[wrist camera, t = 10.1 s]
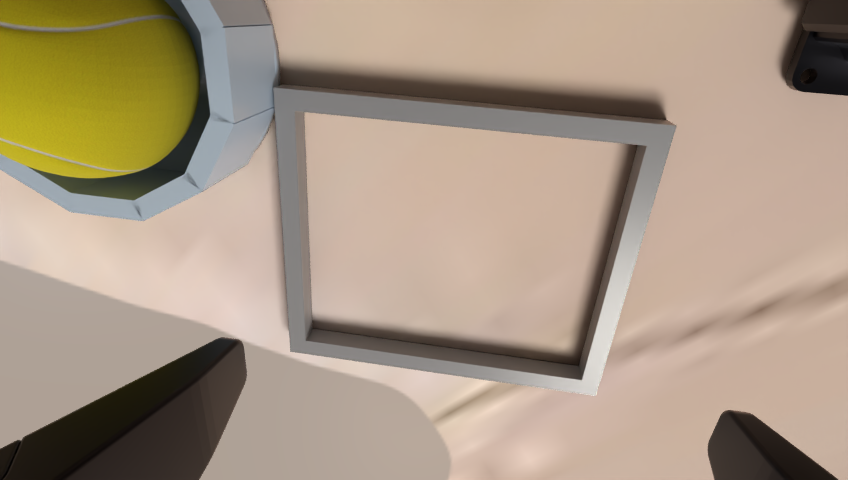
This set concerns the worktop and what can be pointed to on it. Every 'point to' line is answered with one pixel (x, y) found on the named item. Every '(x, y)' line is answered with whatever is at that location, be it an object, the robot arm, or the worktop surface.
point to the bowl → (211, 126)
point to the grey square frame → (475, 115)
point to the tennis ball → (94, 84)
